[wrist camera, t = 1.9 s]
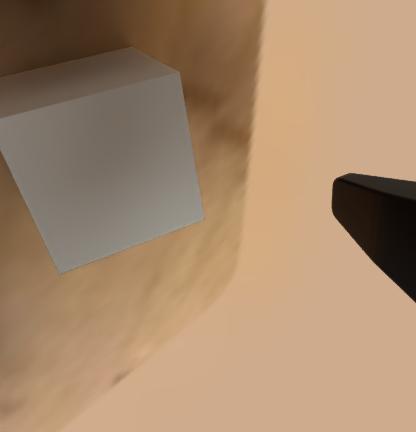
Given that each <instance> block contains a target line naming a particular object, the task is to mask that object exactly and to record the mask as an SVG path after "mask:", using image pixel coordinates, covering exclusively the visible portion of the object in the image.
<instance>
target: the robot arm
mask: <svg viewBox="0 0 416 432" xmlns="http://www.w3.org/2000/svg"><path fill="white" fill-rule="evenodd" d="M332 212H333V215H334V216H335V218H336V219H337V220H338V221H339V223H340V224H341V225H342V226H343V227H344V228H345V230H346V231H347V232H348V233H349V234H350V236H351V237H352V238H353V239H354V240H355V241H356V243H357V244H358V245H359V246H360V247H361V248H362V250H363V251H364V252H365V253H366V254H367V255H368V256H369V258H370V259H371V260H372V261H373V262H374V263H375V264H376V265H377V266H378V267H379V268H380V269H381V270H382V271H383V272H384V273H385V274H386V275H387V276H388V277H389V278H390V279H391V280H393V282H395V283H396V284H397V285H398V286H399V287H400V288H401V289H402V290H403V291H404V292H405V293H406V294H407V295H408V296H409V297H410V298H411V299H412V300H413V301H414V302H415V303H416V182H413V181H407V180H399V179H392V178H384V177H377V176H369V175H362V174H355V173H349V174H346V175H343V176H340V177H338V178H336V179H335V180H334V182H333V188H332Z"/></svg>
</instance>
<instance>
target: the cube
mask: <svg viewBox="0 0 416 432" xmlns="http://www.w3.org/2000/svg"><path fill="white" fill-rule="evenodd" d="M0 151H1V153H2V155H3V157H4V159H5V161H6V163H7V165H8V167H9V170H10V172H11V174H12V176H13V178H14V180H15V182H16V184H17V186H18V188H19V191H20V193H21V195H22V197H23V199H24V201H25V203H26V205H27V207H28V210H29V212H30V214H31V216H32V218H33V220H34V222H35V224H36V226H37V229H38V231H39V233H40V235H41V237H42V239H43V241H44V243H45V245H46V247H47V250H48V252H49V254H50V256H51V258H52V260H53V262H54V264H55V266H56V269H57V271H58V273H59V275H60V274H62V273H65V272H68V271H70V270H73V269H76V268H78V267H81V266H84V265H86V264H89V263H91V262H94V261H97V260H99V259H102V258H105V257H107V256H110V255H113V254H115V253H118V252H121V251H123V250H126V249H128V248H131V247H134V246H136V245H139V244H142V243H144V242H147V241H150V240H152V239H155V238H158V237H160V236H163V235H166V234H168V233H171V232H173V231H176V230H179V229H181V228H184V227H187V226H189V225H192V224H195V223H197V222H200V221H203V220H205V218H204V213H203V207H202V201H201V195H200V189H199V183H198V177H197V171H196V165H195V160H194V154H193V148H192V142H191V136H190V130H189V124H188V118H187V112H186V107H185V101H184V95H183V89H182V83H181V77H180V72H179V71H177V70H175V69H173V68H171V67H169V66H167V65H166V64H164V63H162V62H160V61H158V60H156V59H154V58H152V57H151V56H149V55H147V54H145V53H143V52H141V51H139V50H137V49H135V48H134V47H127V48H123V49H119V50H114V51H110V52H106V53H102V54H97V55H93V56H89V57H84V58H80V59H76V60H71V61H67V62H63V63H58V64H54V65H50V66H45V67H41V68H37V69H32V70H28V71H24V72H19V73H15V74H11V75H6V76H2V77H0Z"/></svg>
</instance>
